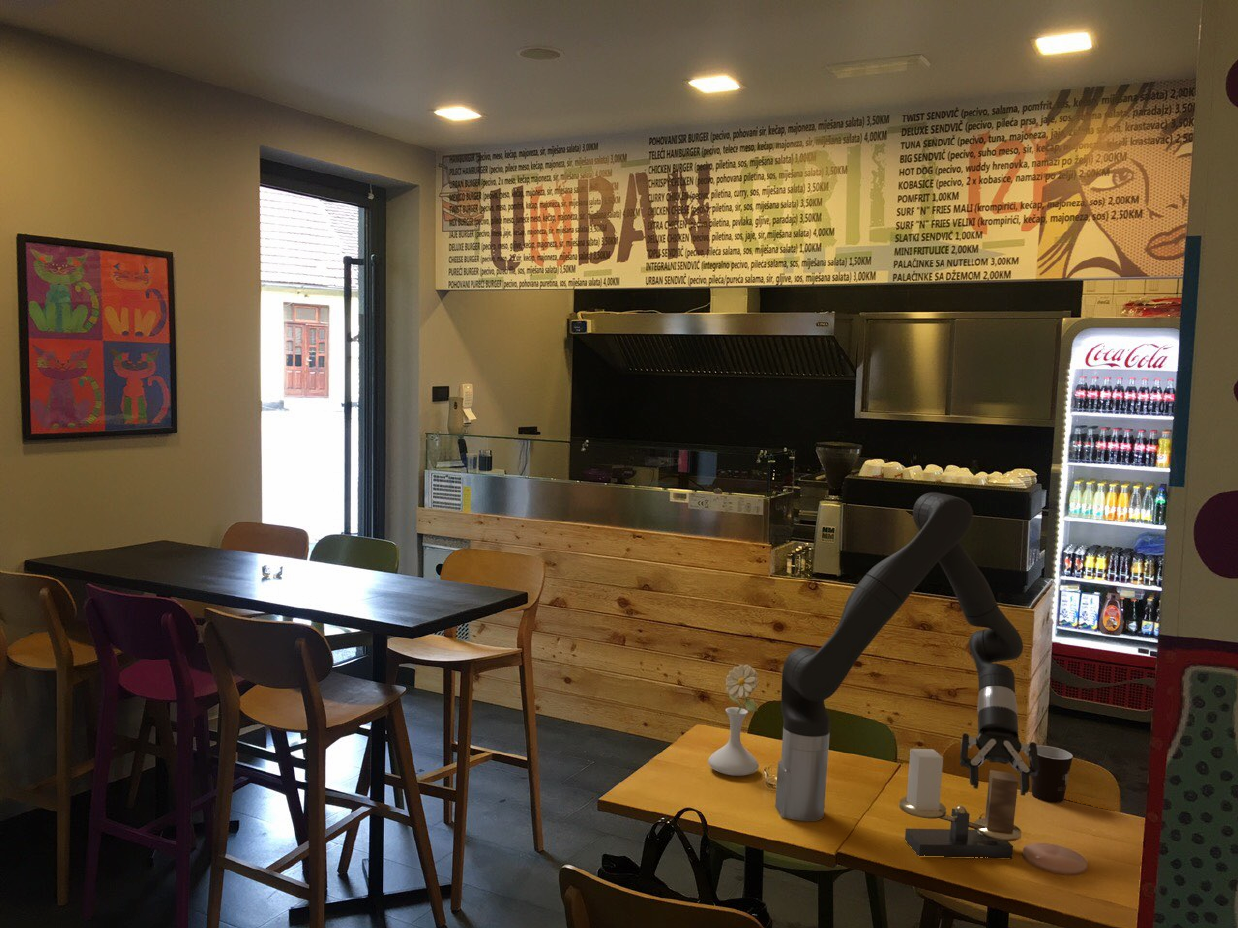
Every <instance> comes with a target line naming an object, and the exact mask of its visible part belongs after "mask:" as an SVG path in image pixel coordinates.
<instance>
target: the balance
mask: <svg viewBox="0 0 1238 928" xmlns="http://www.w3.org/2000/svg"><path fill="white" fill-rule="evenodd" d="M899 808H900V810H901V811H903V812H905V814H908V815H910V816H914V817H918V818H922V819H932V820H935V819H940V820H944V821H948V822H950V828H948V829H947V828H945V829H944V828H910V827H909V828H908V827H907V828H906V827H905V836H904V841H905V840H906V841H907V843H908V844H909V845H910V846H911V847H912V849H913V850H914V851H915V852H916V854H917V855H919V856H924V855H925V856H944V857H974V858H973V859H975V857H978V858H980V857H983V858H985V857H986V858H987V857H988V858H1010V859H1009V860H1012V859H1013V853H1014V852H1013V851H1014V845H1013V844H1012V843H1011V842H1016V841H1019V840H1021V837H1022V829H1020V828H1019V827H1018V826H1017V825H1016V824H1014V826H1013V834H1008V833H1003V832H997V831H991V830H987V827H986V823H985V817H984V818H980V819H976V820H975V821H974V822H972V821H970V812H968V811H967V809H966V808H965V806H963V805H957V806H956V807H955V808H951V815H950V814H949V815H948V814H947V808H946V805H944V804H943V803H941V802H940V806H939V810H915V808H914V807H913V806H912V805H911V804H910V803H909V802H908V801H907V796H906V797H905V796H904V797H902V798H901V799H899ZM969 828H970V829H969ZM907 843H906V844H907ZM908 844H907V845H908ZM909 845H908V846H909ZM912 849H911V850H912ZM913 850H912V851H913ZM914 851H913V852H914ZM915 852H914V853H915ZM916 854H915V855H916ZM917 855H916V856H917Z"/></svg>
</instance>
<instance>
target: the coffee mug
mask: <svg viewBox="0 0 1238 928" xmlns="http://www.w3.org/2000/svg"><path fill="white" fill-rule="evenodd" d="M1036 746H1037V754H1038V761H1039V771H1038V774H1037V776H1030V780H1031V781H1030V782H1031V785H1030V786H1031V796H1032V797H1034V798H1035V799H1036V800H1038V801H1042V802H1046V803H1052V804H1059V803H1063V802H1064V800H1065V794H1066V789H1067V785H1068V784H1067V783H1068V780H1069V777H1070V776H1069V775H1070V771H1071V768H1072V767H1071V765H1072V762H1073V758H1074V756H1073V754H1072V753H1071V752H1069V751H1067V750H1065V749H1062V748H1058V747H1054V746H1048V745H1036Z"/></svg>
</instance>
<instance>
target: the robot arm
mask: <svg viewBox="0 0 1238 928" xmlns="http://www.w3.org/2000/svg"><path fill="white" fill-rule="evenodd" d="M912 517H913V518H912V519H913V522H914V524H915V526H916V528H917V529H918V532H917V533H916V535H915V536H914V537H913V538H912V540H910V542H909V543H907V544H906V545H905V546H904V547H902V548H900V549H899V550H898V551H896V552H894V553H892V554H891V555H889V556H887V557H886V558H884V559H882V560H881V561H880V562H877V564H875V565H874V566H873V567H872V568H871V569H870V570H868V572H866V574H865V575H864V576H863V578H862V579H860V581H859V582H858V583H857V584H856V586H855V587H854V588H853V590H852V591H851V593H850V594H849V596H848V598H847V600H846V602H845V605H844V608H843V611H842V614H841V616H840V620H839V622H838V625H837V627H836V629H835V630H834V631H833V633H832V634H831V635H830V637H829V638H828V639H827V640H826V642H824V644H823V645H822V646H821V647H820V648H819V649H818V650H817V649H814V648H812V647H811V648H810V647H808V646H806V647H805V646H804V647H798V648H796V649H794V650H793V651H791V652H790V653H789V654H788V655H787V656H786V659H785V660H784V661H785V662H784V664H783V667H782V676H781V693H780V694H781V698H780V700H781V701H780V703H781V704H780V705H781V706H780V708H781V713H782V717H783V727H782V742H781V759H780V760H778V762H777V773H776V784H775V785H776V787H775V801H774V802H775V803H774V806H775V809H776V810H777V811H778V813H779V815H780V816H781V818H783V819H791V820H793V821H794V820H795V821H799V822H816V821H819V820H822V819H823V818H824V815H825V807H826V806H825V805H826V804H825V803H826V792H827V791H826V790H827V777H828V760H829V759H828V758H829V747H830V733H831V732H830V731H831V719H830V716H829V713H828V712H827V709H826V705H825V700H827V699H829V698H831V696H832V695H834V694H835V692H836V691H838V689H839V687H840V686H841V684H843V681H844V680H845V679H846V677H847V676H848V675H849V673H850V672H851V670H852V668H854V665H855V664H856V662H857V660H858V659H859V658H860V656H861V655H862V653H863V652H864V650H866V648H867V647H868V646H869V645H870V644H871V643H872V641H873V640H874V639H875V638H876V637H877V635H878V634H879V633H880V631H881V630H882V629H883V628H884V627H885V625H886V624H887V623H888V622H889V621H890V620H891V619H892V618H893V616H895V614H896V613H897V612H898V611H899V609H900V608H901V607H902V606H903V604H904V603H905V602H906V600H908V598H909V596H910V595H911V594H912V593H913V592H914V591H915V589H917V587H918V586H919V585H920V584H921V583H922V581H923V580H924V579H925V577H926V576H927V575H928V574H929V573H930V572H931V571H932V569H933V568H934V567H935V566H936V565H937V564H938V563H939V565H940V567H941V569H942V570H943V572H944V574H945V576H946V578H947V580H948V582H949V583H950V586H951V587H952V590H953V593H954V595H955V597H956V599H957V601H958V604H959V606H960V609H961V611H962V613H963V615H964V617H965V620H966V622H967V623H968V624H969V625H970V626H973V627H977V628H985V629H979V630H977V631H974V632H973V633H972V634H971V635H970V638H969V640H968V647H969V651H970V653H971V656H972V658H973V661H974V664H975V668H976V673H977V677H978V697H977V709H976V714H977V737H973V736H970V735H969V734H968V733H966V732H965V733H963V734H962V737H961V740H960V756H959V757H960V758H959V765H960V766H961V767H963V768H965V767H966V768H968V770H969V784H970V786H973V789H974V790H975V789H976V790H977V789H978V788H979V767H980V766H982V764H984V763H985V762H986V761H987V760H988V761H989V763H999V764H1003V765H1007V764H1009V765H1011V767H1012V768H1013V769H1014V770H1016V772H1017V773H1018V774H1019V775H1020V777H1019V785H1020V791H1019V792H1020V796H1026V794H1028V793H1029V790H1030V788H1031V785H1030V777H1031V776H1037V774H1038V771H1039V761H1038V754H1037V746H1038V745H1037V743H1036V742H1034V741H1032V742H1030V743H1021V741H1020V738H1019V737H1020V736H1019V720H1018V719H1019V717H1018V703H1017V698H1016V680H1015V678H1016V677H1015V674H1014V671H1013V670H1012V669H1011V668H1010V667H1009V666H1008V665H1004V664H1001V663H1000V662H1006V661H1012V660H1013V661H1014V660H1015V659H1018V658H1019V657H1020V656H1021V655H1022V653H1023V649H1024V642H1023V638H1022V637H1021V635H1020V633H1019V632H1018V630H1017V629H1016V627H1015V626H1014V625H1013V624H1012V623H1011V621H1010V620H1009V619H1008V618H1007V617H1006V615H1005V614H1004V612H1003V611H1002V610H1001V608H1000V607H999V605H998V603H997V601H996V599H995V595H994V593H993V591H992V589H991V586H990V585H989V582H988V580H987V579H986V577H985V576H984V574H983V572H982V571H981V570H980V569H979V567H978V566H977V565H976V563H974V561H973V560H972V558H971V556H970V555H969V554H968V553H967V552H966V549H965V548H964V546H963V545H962V543H961V540H962V539H963V538H964V537H965V536H966V535H967V533H968V532H969V530H970V528H971V526H972V523H973V518H974V513H973V508H972V506H971V504H970V503H969V502H968V501H966V499H963V498H961V497H958V496H955V495H952V494H946V493H942V492H932V491H931V492H928V493H927V492H926V493H923V494H922V495H921V496H919V498H917V500H916V501H915V503H914V505H913V509H912ZM973 745H975V746H976V747H977V749H978V750H979V751H978V752H977V754H976V755H975V756H974V757H973V758H972V759H971V758H969V756H968V755H969V749H972V747H973ZM1021 751H1023V752H1024V755H1025V756H1027V757H1028V759H1029V760H1028V763H1029V766H1028V765H1027V764H1026V763H1025V762H1024V760H1023V758H1022V756H1021V755H1020V754H1019V753H1020V752H1021Z"/></svg>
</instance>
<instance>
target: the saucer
mask: <svg viewBox="0 0 1238 928" xmlns="http://www.w3.org/2000/svg"><path fill="white" fill-rule="evenodd" d="M1022 856H1023V858H1025V859H1024V860H1025V861H1026V862H1027V863H1029V864H1031V866H1034V867H1036V868H1038V869H1040V870H1043V871H1047V872H1050V873H1052V874H1053V873H1054V874H1060V875H1068V876H1071V875H1074V876H1076V875H1080V874H1084V873H1085V872H1086V871H1087V869H1088V860H1087V858H1086V857H1084V856H1083V855H1082V854H1081V853H1079V852H1077V851H1075V850H1073V849H1071V848H1067V847H1065V846H1062V845H1059V844H1054V843H1045V842H1033V843H1031V842H1030V843H1028V844H1026V845H1024V847H1023V849H1022Z"/></svg>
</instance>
